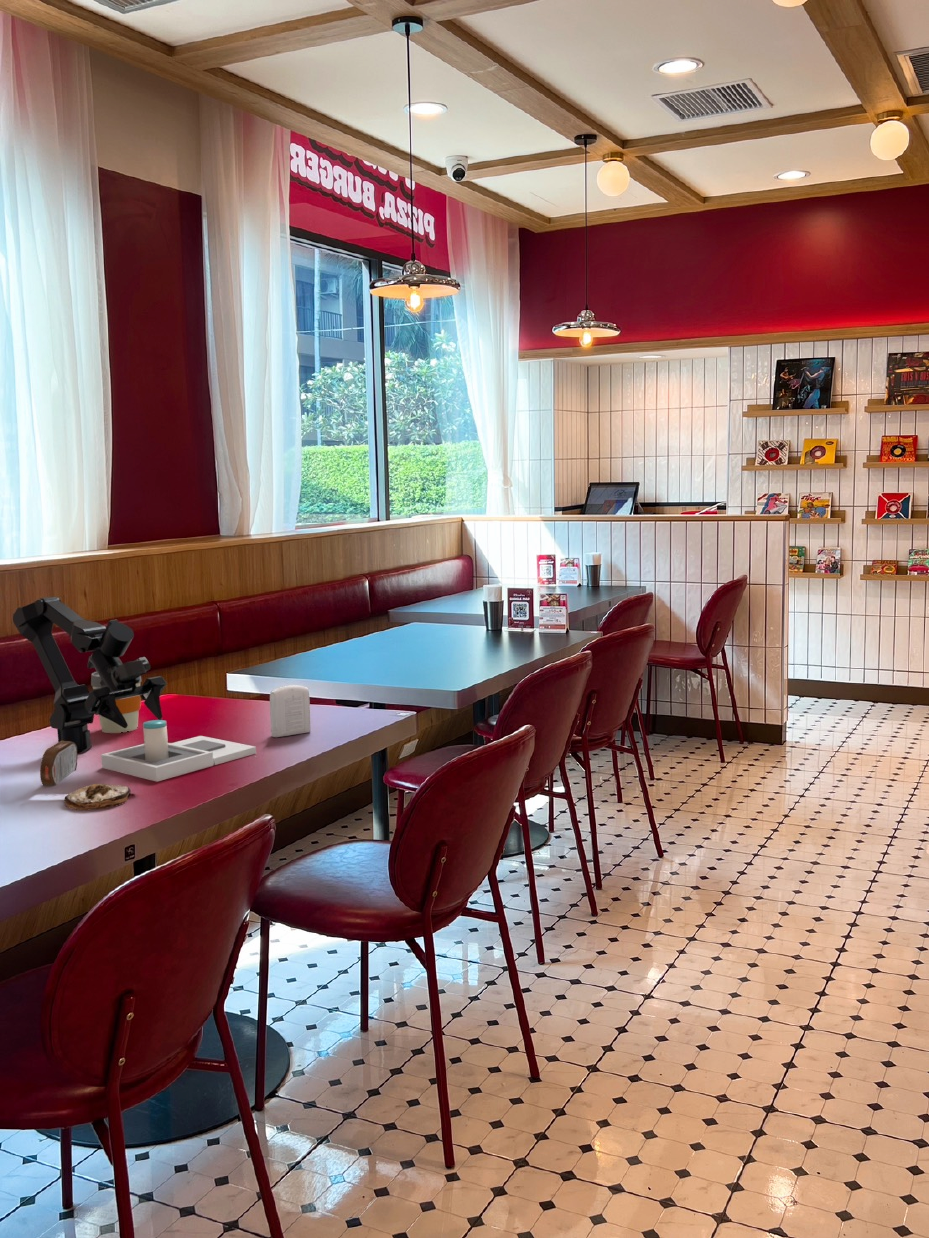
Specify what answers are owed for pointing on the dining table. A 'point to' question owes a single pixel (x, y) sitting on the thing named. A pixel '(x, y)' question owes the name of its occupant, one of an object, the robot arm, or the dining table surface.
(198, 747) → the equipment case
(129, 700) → the reusable coffee cup
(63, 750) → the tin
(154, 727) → the ball
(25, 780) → the dining table surface
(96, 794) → the brown topped flatbread
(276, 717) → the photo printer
